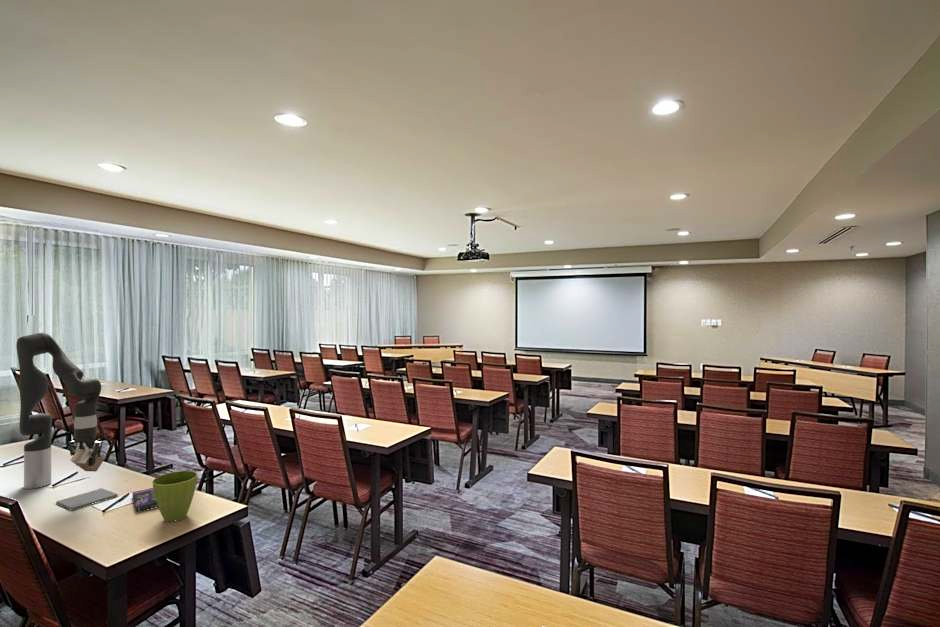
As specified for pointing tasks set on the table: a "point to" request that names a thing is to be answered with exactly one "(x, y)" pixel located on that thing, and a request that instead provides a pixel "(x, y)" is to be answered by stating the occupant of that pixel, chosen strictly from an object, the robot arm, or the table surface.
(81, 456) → the block
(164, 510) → the flower pot
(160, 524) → the table surface
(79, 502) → the mat
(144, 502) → the box
